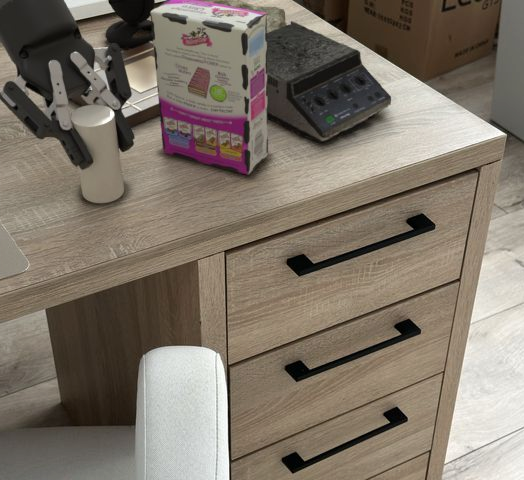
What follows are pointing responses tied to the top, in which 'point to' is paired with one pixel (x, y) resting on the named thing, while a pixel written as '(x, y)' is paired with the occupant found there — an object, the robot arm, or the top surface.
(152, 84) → the grid board
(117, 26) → the webcam
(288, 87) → the electronic device
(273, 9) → the rock
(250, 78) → the candy bar box
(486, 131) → the top surface
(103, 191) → the white cylinder
